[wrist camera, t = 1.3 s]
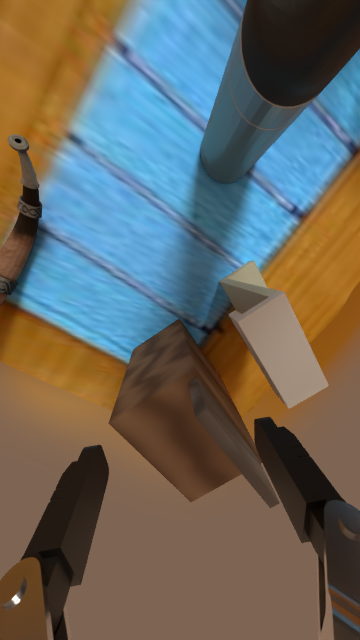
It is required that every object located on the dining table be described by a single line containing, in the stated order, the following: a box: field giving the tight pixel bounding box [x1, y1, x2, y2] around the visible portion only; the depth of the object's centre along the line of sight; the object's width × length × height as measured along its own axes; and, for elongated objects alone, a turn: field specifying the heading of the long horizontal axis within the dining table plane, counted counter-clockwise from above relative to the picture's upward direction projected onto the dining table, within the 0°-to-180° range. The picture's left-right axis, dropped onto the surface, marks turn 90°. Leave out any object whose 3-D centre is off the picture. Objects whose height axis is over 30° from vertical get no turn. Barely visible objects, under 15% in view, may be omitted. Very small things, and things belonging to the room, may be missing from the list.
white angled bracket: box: [219, 261, 329, 409], centre depth 31 cm, size 12×14×20 cm
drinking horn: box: [0, 134, 42, 306], centre depth 29 cm, size 6×30×10 cm, turn 145°
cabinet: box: [109, 319, 279, 508], centre depth 31 cm, size 12×18×25 cm, turn 33°
